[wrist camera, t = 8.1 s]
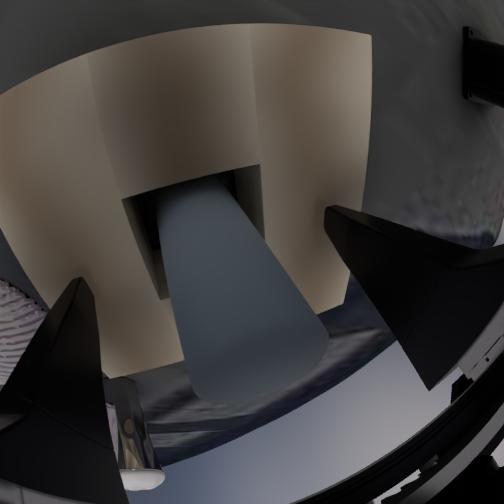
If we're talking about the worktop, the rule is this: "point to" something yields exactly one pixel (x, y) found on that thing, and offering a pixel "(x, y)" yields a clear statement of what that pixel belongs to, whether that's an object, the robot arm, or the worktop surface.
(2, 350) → the seashell
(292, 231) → the socket block
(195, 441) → the worktop surface
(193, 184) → the dowel
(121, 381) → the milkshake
